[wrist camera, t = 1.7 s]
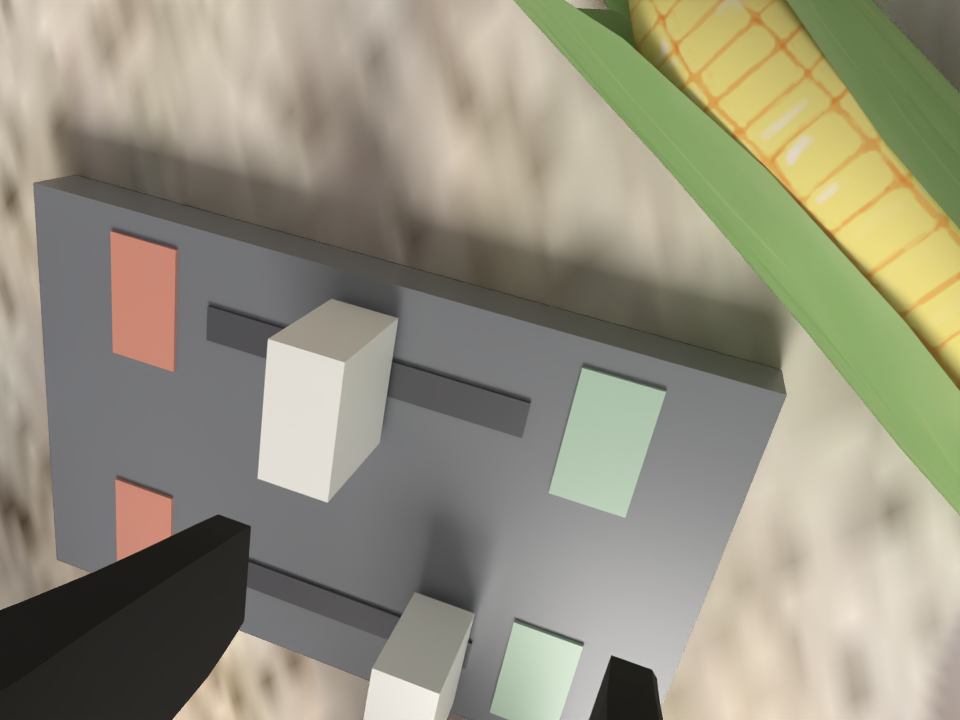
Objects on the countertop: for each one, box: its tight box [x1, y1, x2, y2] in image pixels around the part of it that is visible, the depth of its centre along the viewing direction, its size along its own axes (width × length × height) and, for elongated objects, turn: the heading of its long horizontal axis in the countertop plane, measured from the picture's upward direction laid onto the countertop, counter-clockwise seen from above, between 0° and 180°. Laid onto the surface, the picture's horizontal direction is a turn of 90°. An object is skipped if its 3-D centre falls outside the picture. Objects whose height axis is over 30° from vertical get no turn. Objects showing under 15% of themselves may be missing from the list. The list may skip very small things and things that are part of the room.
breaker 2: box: [363, 592, 474, 720], centre depth 21 cm, size 2×4×3 cm, turn 169°
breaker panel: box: [33, 175, 787, 720], centre depth 22 cm, size 20×13×2 cm, turn 79°
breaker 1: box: [258, 299, 398, 503], centre depth 18 cm, size 2×4×3 cm, turn 169°
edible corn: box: [514, 0, 960, 515], centre depth 15 cm, size 5×20×5 cm, turn 46°
